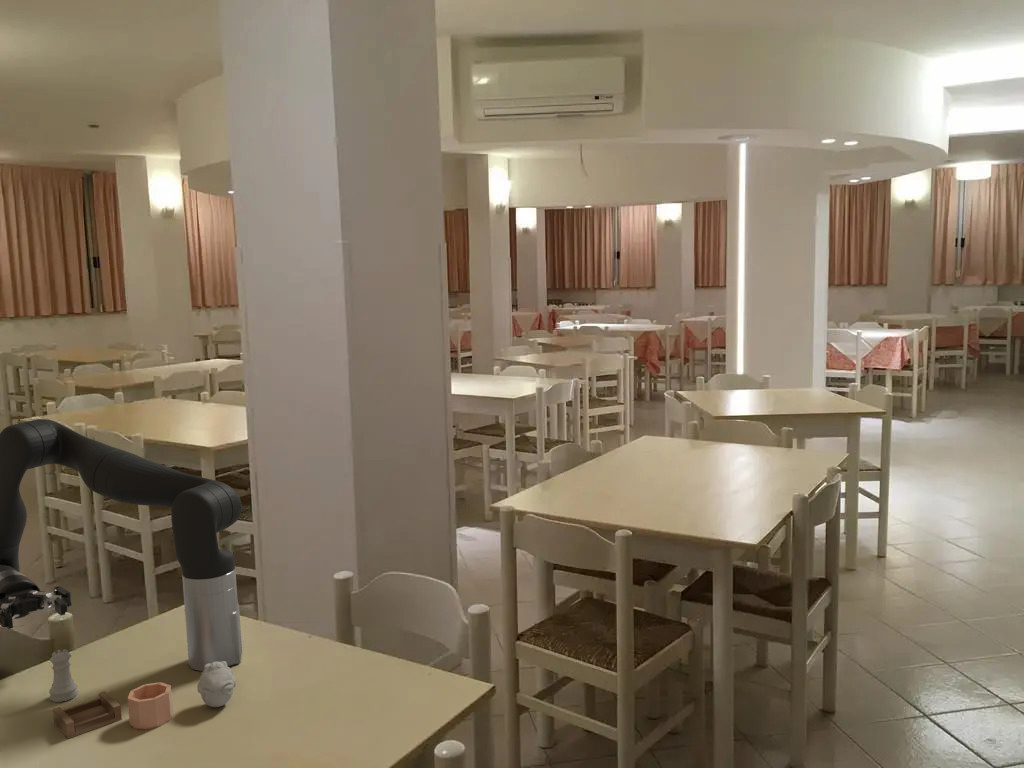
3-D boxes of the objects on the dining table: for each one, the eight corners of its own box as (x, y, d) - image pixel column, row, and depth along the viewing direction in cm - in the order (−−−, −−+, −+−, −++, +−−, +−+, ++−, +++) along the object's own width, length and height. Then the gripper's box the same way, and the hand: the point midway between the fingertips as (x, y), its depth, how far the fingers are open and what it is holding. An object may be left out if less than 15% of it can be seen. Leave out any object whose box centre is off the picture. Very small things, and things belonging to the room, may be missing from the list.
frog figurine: (237, 692, 145) (234, 653, 144) (237, 711, 138) (234, 670, 137) (199, 698, 143) (196, 659, 142) (198, 718, 136) (194, 676, 135)
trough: (54, 722, 136) (52, 708, 136) (106, 704, 141) (105, 691, 141) (68, 738, 131) (66, 724, 131) (121, 719, 136) (120, 705, 136)
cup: (174, 708, 140) (172, 680, 139) (169, 726, 134) (167, 697, 133) (135, 713, 138) (132, 685, 138) (127, 732, 132) (125, 703, 132)
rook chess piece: (84, 692, 146) (80, 648, 145) (63, 704, 142) (59, 659, 141) (64, 689, 148) (60, 645, 147) (43, 701, 143) (38, 656, 142)
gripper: (-33, 584, 158) (-10, 607, 146) (51, 565, 167) (78, 586, 156) (-29, 622, 159) (-7, 648, 147) (54, 602, 168) (81, 625, 157)
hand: (37, 616), depth 151 cm, fingers open, 8 cm apart
